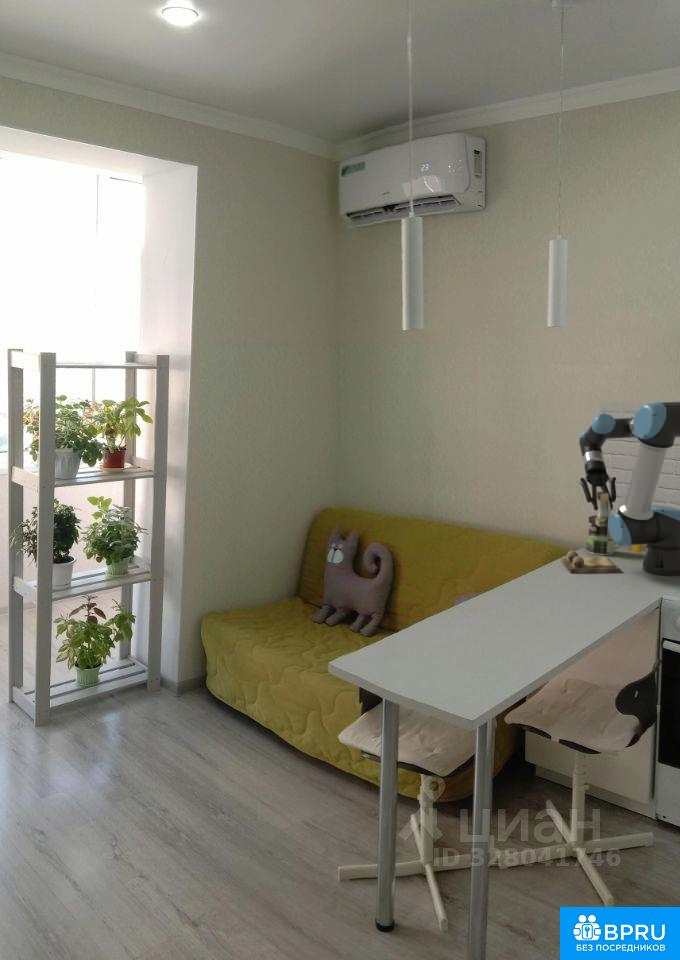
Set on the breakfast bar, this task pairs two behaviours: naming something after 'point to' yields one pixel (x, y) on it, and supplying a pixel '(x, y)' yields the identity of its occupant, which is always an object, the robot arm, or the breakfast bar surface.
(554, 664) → the breakfast bar surface
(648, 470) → the robot arm
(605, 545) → the coffee can
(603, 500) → the beige rectangular block
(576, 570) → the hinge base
